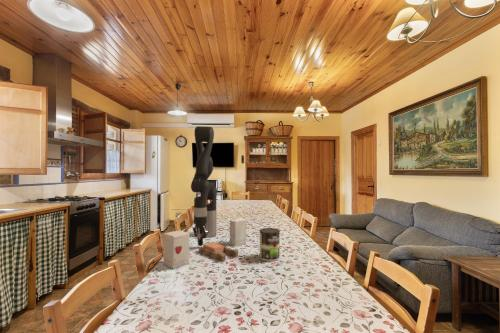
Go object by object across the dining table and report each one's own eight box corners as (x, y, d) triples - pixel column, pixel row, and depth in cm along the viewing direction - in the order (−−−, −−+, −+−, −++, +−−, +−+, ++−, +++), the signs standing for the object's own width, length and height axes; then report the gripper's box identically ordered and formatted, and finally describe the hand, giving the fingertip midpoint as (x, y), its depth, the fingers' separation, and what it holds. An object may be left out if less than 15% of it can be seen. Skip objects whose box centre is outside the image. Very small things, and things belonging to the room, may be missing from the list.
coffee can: (283, 259, 130) (283, 231, 130) (266, 262, 126) (266, 233, 126) (272, 253, 140) (272, 227, 140) (255, 256, 135) (255, 229, 135)
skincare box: (240, 241, 160) (240, 217, 160) (246, 244, 155) (246, 219, 155) (229, 244, 155) (229, 219, 155) (235, 247, 150) (235, 221, 150)
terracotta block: (203, 251, 141) (203, 244, 141) (212, 249, 145) (212, 242, 145) (214, 256, 134) (214, 248, 134) (223, 253, 138) (223, 245, 138)
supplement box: (173, 269, 117) (173, 236, 117) (162, 264, 123) (162, 233, 123) (190, 264, 124) (190, 232, 124) (179, 259, 130) (179, 229, 130)
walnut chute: (198, 252, 140) (198, 245, 140) (214, 248, 147) (214, 241, 147) (222, 262, 126) (222, 254, 126) (238, 257, 133) (238, 249, 133)
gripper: (188, 214, 149) (188, 244, 149) (201, 217, 140) (201, 249, 140) (199, 212, 155) (199, 241, 155) (212, 215, 146) (212, 246, 146)
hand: (200, 245), depth 147 cm, fingers closed
